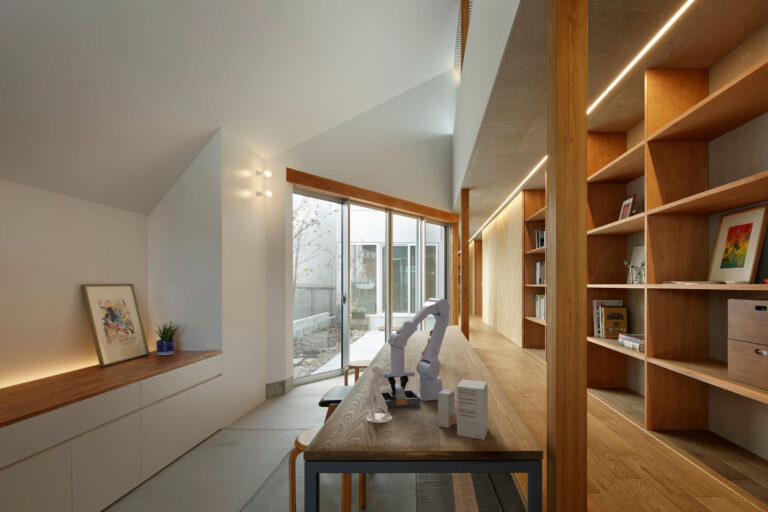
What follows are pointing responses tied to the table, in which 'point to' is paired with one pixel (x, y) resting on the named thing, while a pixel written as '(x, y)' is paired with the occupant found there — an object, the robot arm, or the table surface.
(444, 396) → the skincare box
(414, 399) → the divided tray
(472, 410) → the supplement box
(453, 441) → the table surface
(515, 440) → the table surface
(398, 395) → the grey rectangular block
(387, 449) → the table surface
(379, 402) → the female figurine
